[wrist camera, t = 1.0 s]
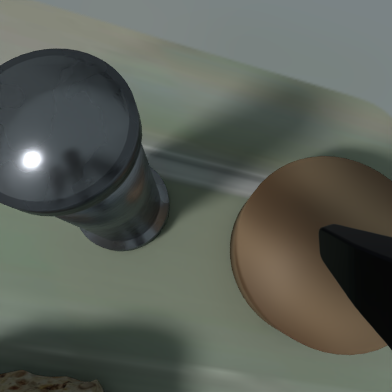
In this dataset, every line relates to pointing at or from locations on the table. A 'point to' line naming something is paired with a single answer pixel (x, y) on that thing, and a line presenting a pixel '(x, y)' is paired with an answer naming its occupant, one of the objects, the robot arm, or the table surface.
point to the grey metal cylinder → (77, 148)
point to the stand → (308, 249)
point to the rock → (44, 383)
